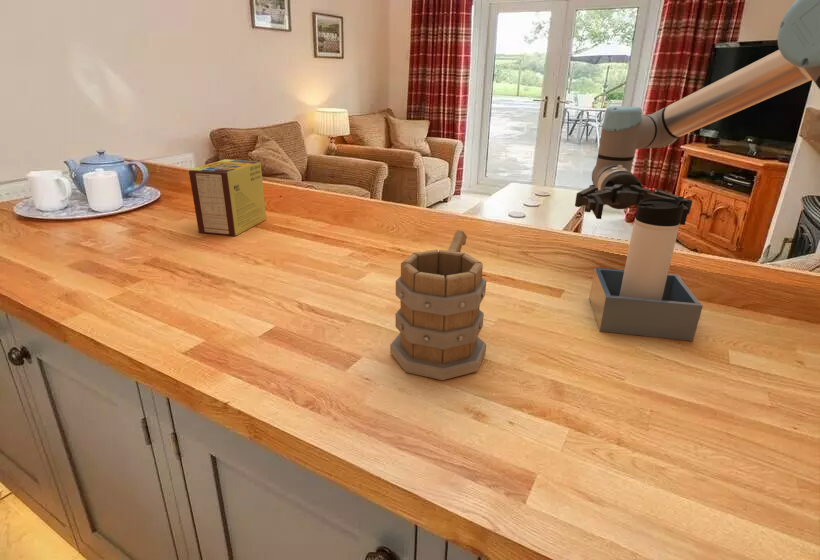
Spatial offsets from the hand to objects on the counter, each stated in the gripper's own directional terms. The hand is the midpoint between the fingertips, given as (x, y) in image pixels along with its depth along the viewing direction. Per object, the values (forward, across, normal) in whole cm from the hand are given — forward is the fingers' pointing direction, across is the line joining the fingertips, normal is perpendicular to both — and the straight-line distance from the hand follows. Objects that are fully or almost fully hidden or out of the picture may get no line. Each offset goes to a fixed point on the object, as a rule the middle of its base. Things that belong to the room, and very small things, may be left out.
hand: (641, 214), depth 84 cm
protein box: (-21, -91, +16) cm, 95 cm away
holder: (+10, 0, +15) cm, 18 cm away
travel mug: (+10, 0, +15) cm, 18 cm away
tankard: (+25, -30, +15) cm, 42 cm away
